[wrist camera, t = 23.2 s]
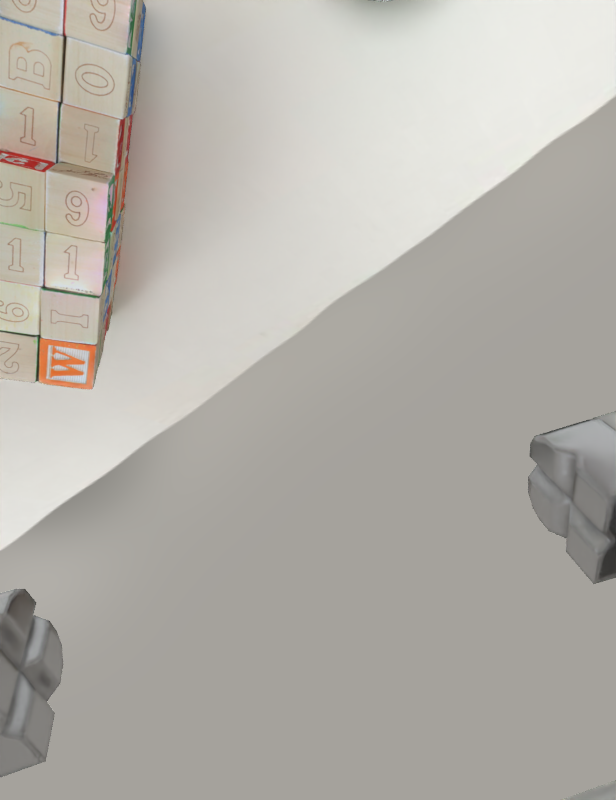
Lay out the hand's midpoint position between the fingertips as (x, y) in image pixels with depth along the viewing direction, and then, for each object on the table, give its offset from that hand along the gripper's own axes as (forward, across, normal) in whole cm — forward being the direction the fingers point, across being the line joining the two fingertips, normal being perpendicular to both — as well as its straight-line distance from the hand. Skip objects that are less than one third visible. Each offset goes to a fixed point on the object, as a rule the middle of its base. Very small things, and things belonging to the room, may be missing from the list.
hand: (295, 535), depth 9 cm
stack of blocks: (+37, +8, -2) cm, 38 cm away
